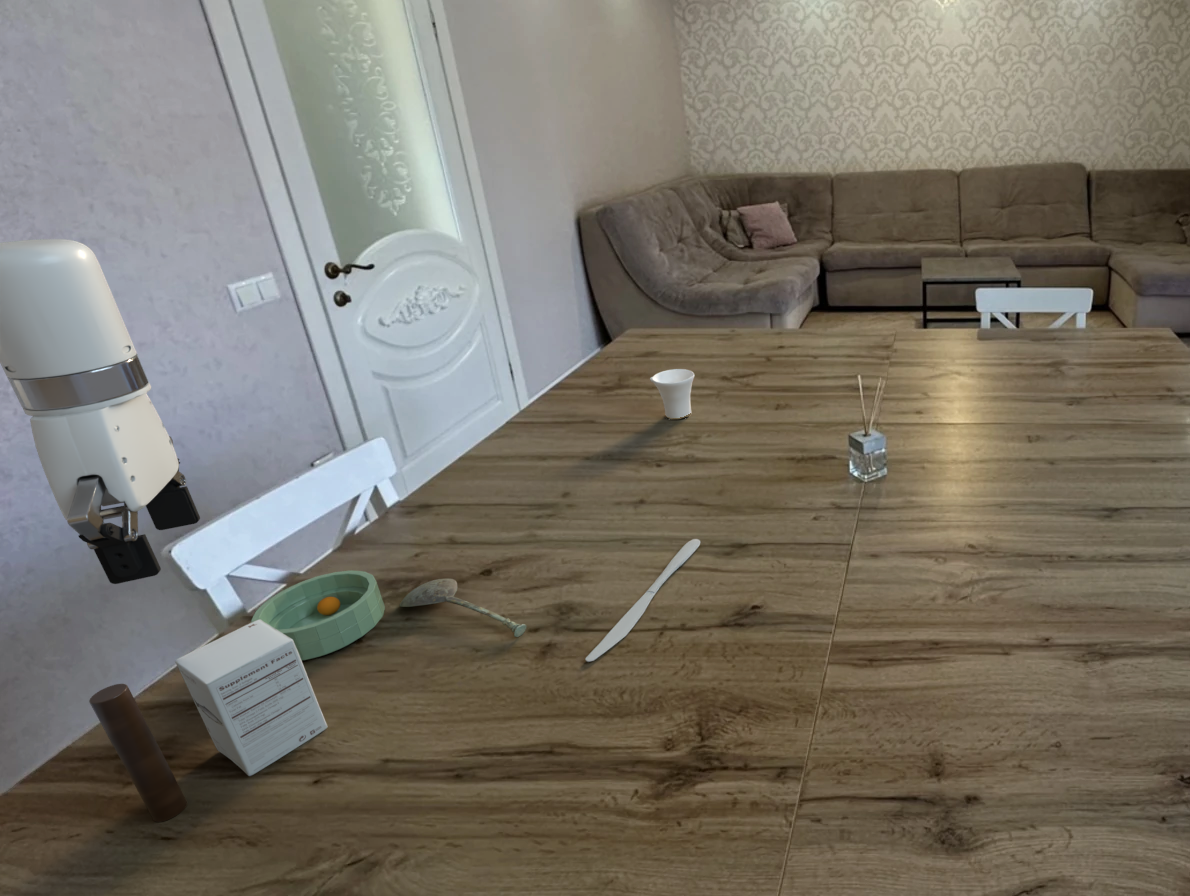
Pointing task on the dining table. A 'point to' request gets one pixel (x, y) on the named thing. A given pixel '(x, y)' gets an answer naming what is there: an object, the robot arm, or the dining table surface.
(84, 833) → the dining table surface
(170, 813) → the stirring stick
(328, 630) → the bowl
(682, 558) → the butter knife
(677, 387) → the cup
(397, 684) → the dining table surface
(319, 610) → the ball
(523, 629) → the soupspoon
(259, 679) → the white packaging box
